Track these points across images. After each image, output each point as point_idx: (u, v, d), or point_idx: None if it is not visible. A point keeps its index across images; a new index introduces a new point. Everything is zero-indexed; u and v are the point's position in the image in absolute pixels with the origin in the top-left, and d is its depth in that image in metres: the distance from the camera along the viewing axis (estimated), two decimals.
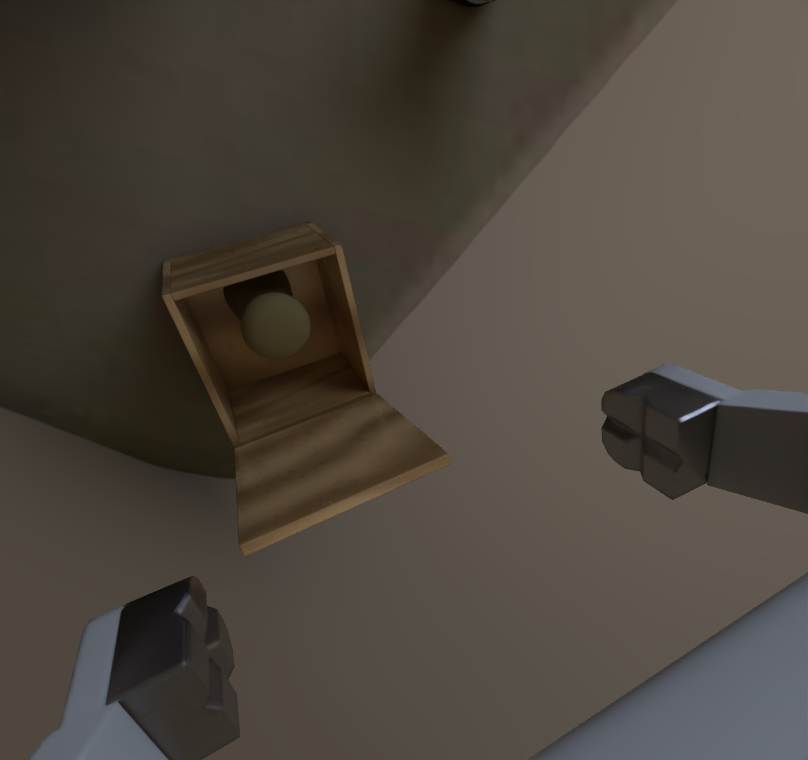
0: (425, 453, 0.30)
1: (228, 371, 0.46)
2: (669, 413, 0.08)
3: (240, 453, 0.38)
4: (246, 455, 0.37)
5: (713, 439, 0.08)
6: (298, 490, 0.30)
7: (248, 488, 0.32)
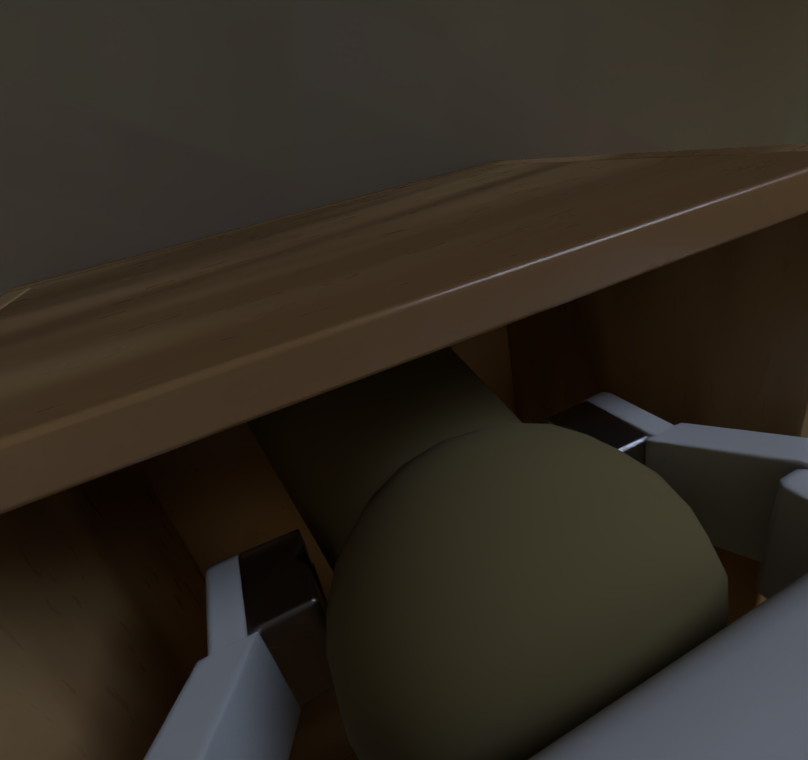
0: None
1: None
2: None
3: None
4: None
5: None
6: None
7: None
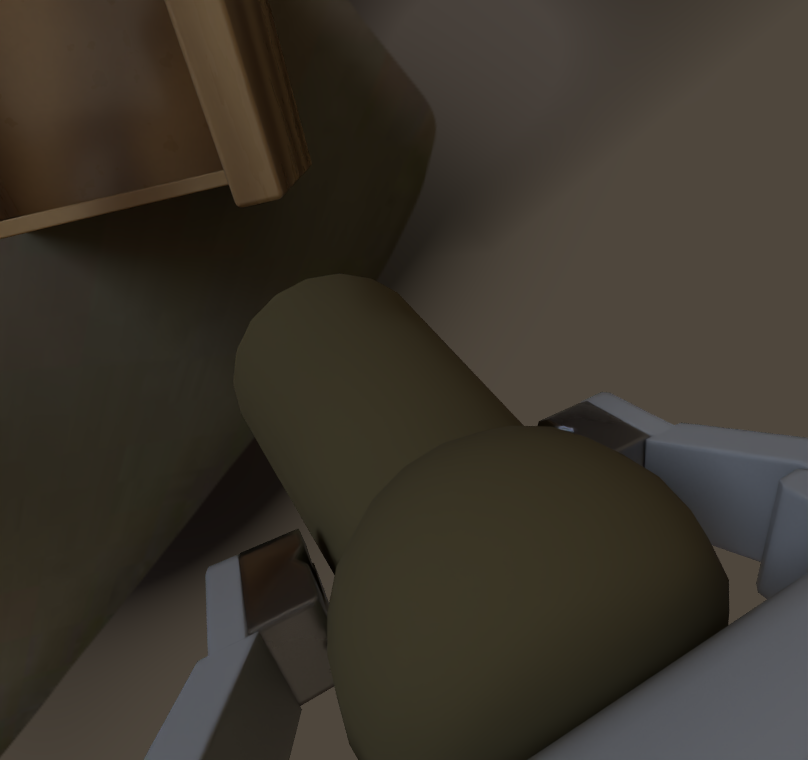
0: None
1: None
2: None
3: None
4: None
5: None
6: None
7: None
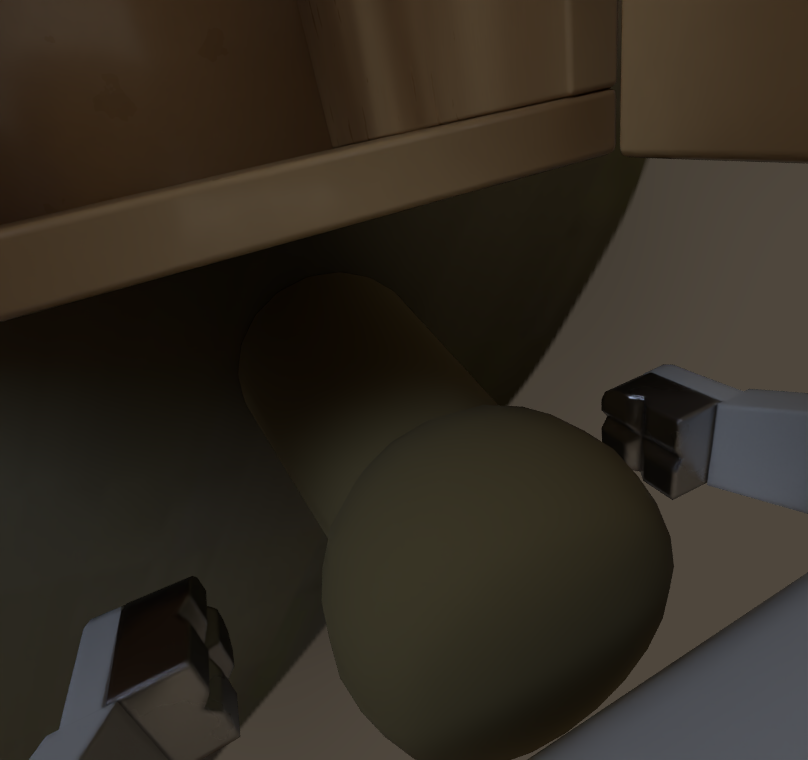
0: None
1: (240, 132, 0.11)
2: (669, 413, 0.08)
3: (769, 70, 0.03)
4: None
5: (713, 438, 0.08)
6: None
7: None
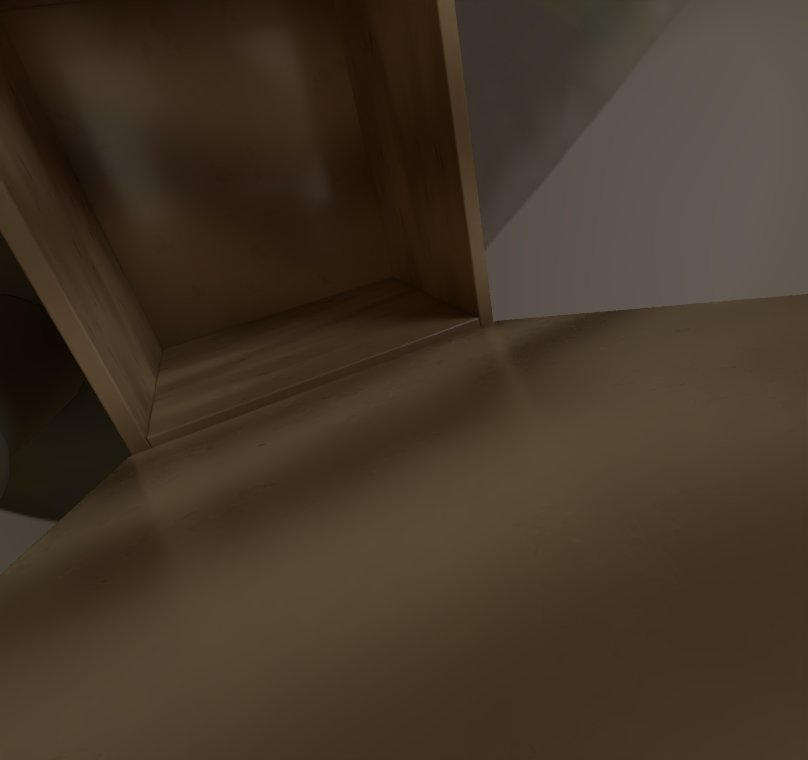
0: None
1: (159, 302, 0.21)
2: None
3: (131, 463, 0.13)
4: (141, 465, 0.12)
5: None
6: (257, 595, 0.04)
7: (30, 580, 0.06)
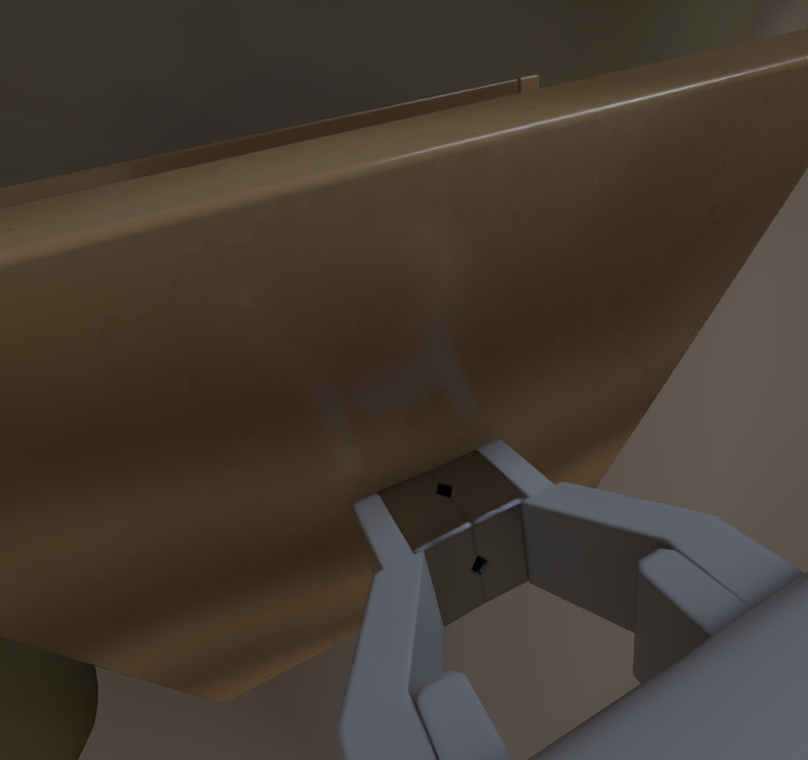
0: None
1: None
2: (468, 510, 0.07)
3: None
4: None
5: (524, 536, 0.07)
6: None
7: None
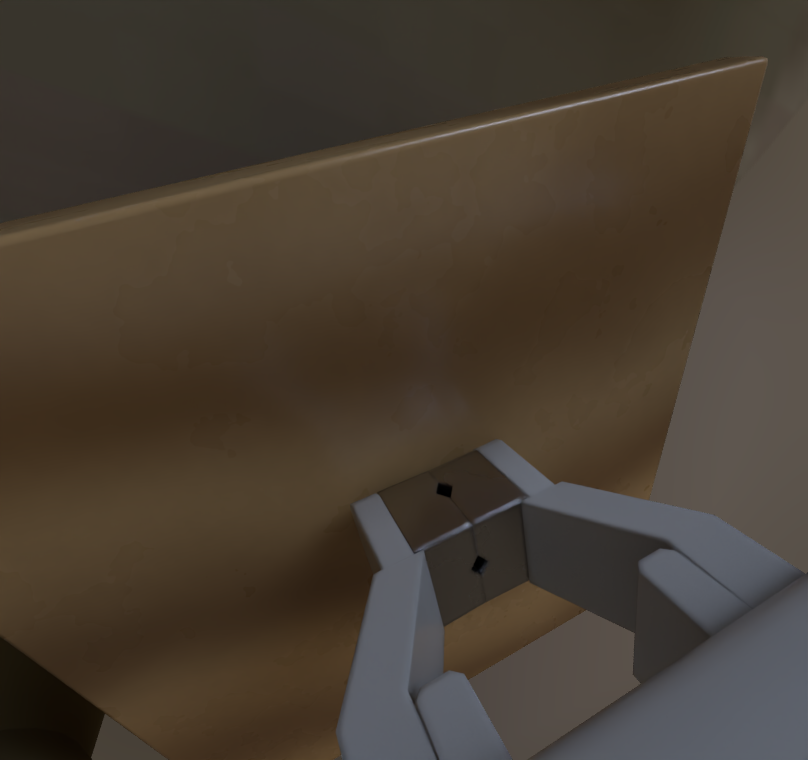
0: None
1: None
2: (468, 510, 0.07)
3: None
4: None
5: (525, 536, 0.07)
6: None
7: None
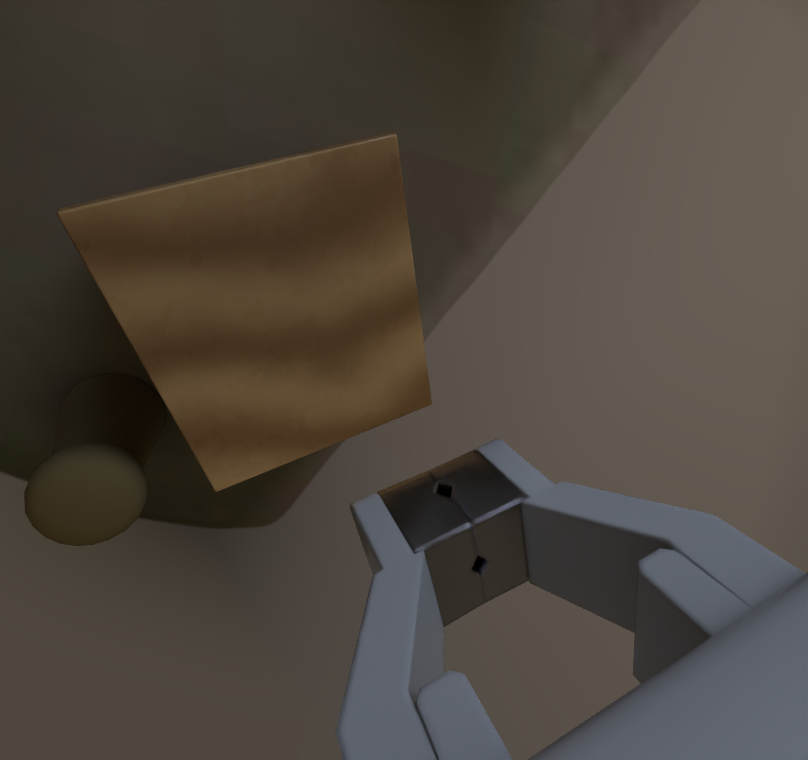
0: None
1: None
2: (468, 510, 0.07)
3: None
4: None
5: (525, 536, 0.07)
6: None
7: None
